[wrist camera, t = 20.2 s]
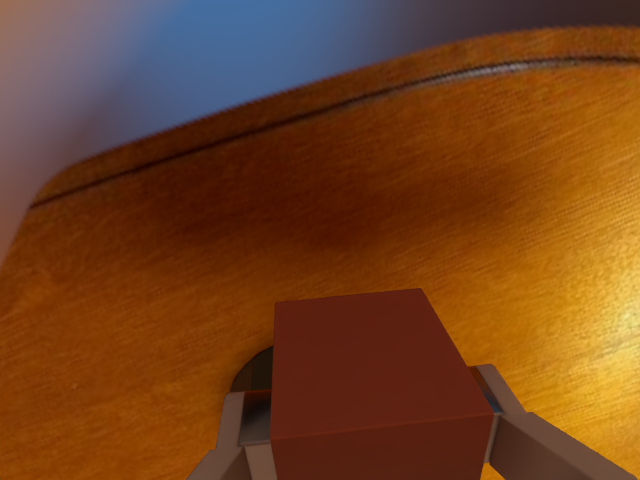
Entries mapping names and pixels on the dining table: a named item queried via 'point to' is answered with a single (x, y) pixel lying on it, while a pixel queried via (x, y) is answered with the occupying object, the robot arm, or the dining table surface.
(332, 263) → the dining table surface
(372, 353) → the block
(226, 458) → the robot arm
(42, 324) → the dining table surface
